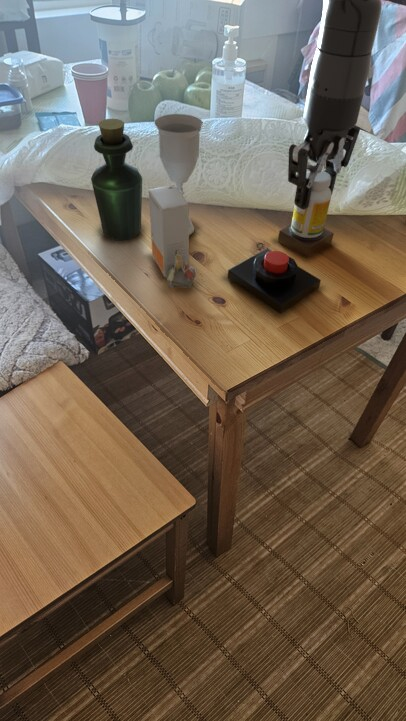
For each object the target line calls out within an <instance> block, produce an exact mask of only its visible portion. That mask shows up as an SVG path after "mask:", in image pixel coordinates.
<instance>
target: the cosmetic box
mask: <svg viewBox="0 0 406 721" xmlns="http://www.w3.org/2000/svg"><path fill="white" fill-rule="evenodd" d="M176 187H177V186H176V184H171V185H165V186H160V187H155V188H150V189H148V202H149V203H148V204H149V219H150V238H151V239H150V240H151V256H152V258H153V260H154V261H155V262H156V264H157V266H158V268H159V269H160V271H161V273H162V275H163V277H165V278H167V276H166V272H167V270H168V268H170V267H171V266H173V265H175V262H176V260H175V253H176V250H179V252H180V254H181V257H182V261H183V264H184V261H187V263H188V264H187V265H189V266H190V258H189V257H190V244H189V243H190V235H189V218H190V204H189V202H188V201H187V199H186V198H185V197H184V195H182V194H181V192H179V190H178V189H177V188H176ZM181 257H180V258H181ZM176 259H177V258H176Z"/></svg>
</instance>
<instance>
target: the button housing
mask: <svg viewBox="0 0 406 721" xmlns="http://www.w3.org/2000/svg"><path fill="white" fill-rule="evenodd" d="M270 251H272V249H270V248H268V247H267V248H265V249H263V250H261V251H260V252H258V253H256V254H254V255H252V256H250V257H248V258H247V259H245V260H243V261H242V262H240V263H237V264H236V265H234V266H232V267H231V268H228V270H227V280H229V281H231V282H232V283H234V284H235V285H237V286H238V287H240V288H241V289H242V290H244V291H245V292H247V293H249V294H250V295H252V296H253V297H255V298H256V299H258V300H259V301H260V302H262V303H263V304H265V305H267V306H268V307H270V309H272V310H274V311H275V312H277V313H278V314H282V313H283V312H285V311H286V310H288V309H289V308H291V307H293V306H294V305H296V304H298V303H299V302H300V301H302V300H304V299H305V298H306V297H308V296H309V295H311V294H312V293H314V292H317V290H318V289H320V285H321V281H322V280H321V279H320V278H318V277H317V276H315V275H313V274H311V273H310V272H308V271H307V270H305V269H304V268H302V267H300V266H299V265H298V264H297V262H296V261H295V259H294V258H293V257H291V256H289V255H288V257H289V262H288V268H287V271H286V272H284V273H279V274H275V273H270V272H268V271H266V270H265V269H264V259H265V255H266V254H267V253H268V252H270Z"/></svg>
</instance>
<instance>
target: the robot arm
mask: <svg viewBox="0 0 406 721" xmlns="http://www.w3.org/2000/svg"><path fill="white" fill-rule="evenodd" d="M382 7H383V4H382V0H322V14H321V20H320V26H319V33H318V38H317V44H316V48H315V53H314V56H313V59H312V64H311V67H310V73H309V79H308V86H307V91H306V97H305V104H304V108H303V109H304V110H303V114H302V116H303V117H302V118H303V120H304V122H305V124H306V126H307V131H306V133H305V135H304V137H303V142H302V143H300V144H298V145H296V144H295V143H292V144H290V146H289V148H288V166H287V167H288V168H287V169H288V171H287V181H288V182H289V183H291V184H292V185H295V186H296V190H295V194H294V201H293V202H294V206H295V205H296V206H297V207H299V208H301V209H303V210H304V209H306V208H308V206H309V201H310V196H311V191H312V187H311V186H312V184H313V182H314V180H315V177H316V175H317V174H318V173H320V172H321V171H324V172H327V173H328V174H330V176H331V182H330V186H329V189H330V190H331V194H332V195H333V193H334V189H335V184H336V180H337V176H338V175H339V174H340V173H341V171H342V168H347V167H348V166H349V164H350V161H351V157H352V155H353V152H354V149H355V146H356V142H357V141H358V137H359V134H360V131H361V128H360V126H357V123H358V120H359V115H360V110H361V106H362V103H363V99H364V94H365V91H366V86H367V83H368V78H369V74H370V68H371V59H372V53H373V49H374V45H375V40H376V37H377V31H378V29H379V23H380V19H381V15H382V9H383V8H382ZM344 150H345V153H344ZM309 160H310V161H311V162H314V163H316V164H315V165H314V164H313V163H311V162H309ZM323 169H324V170H323ZM308 171H310V174H309V177H308V178H306V174H307V172H308Z"/></svg>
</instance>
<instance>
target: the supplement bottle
mask: <svg viewBox="0 0 406 721" xmlns="http://www.w3.org/2000/svg"><path fill="white" fill-rule="evenodd" d="M309 174H310V170H307V174H306V178H308V177H309ZM330 182H331V176H330V174H328V173H327V172H324V170H322V171H321V172H320V173H318V174H317V175H316V177H315V180H314V182H313V184H312V186H311V187H312V191H311V196H310V201H309V206H308V208H306V209H304V210H303V209H301V208H299V207H297V206H296V205H295V204H294V208H293V213H292V219H291V224H290V225H291V229H292V231H293V232H294V233H295V234H296V235H298V236H300V237H303V238H314V237H318V236H320V235H321V234H322V232H323V229H324V228H325V225H326V220H327V216H328V212H329V208H330V204H331V201H332V200H331V199H332V196H333V193H332V194H331V190H330V189H329V186H330Z"/></svg>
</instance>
